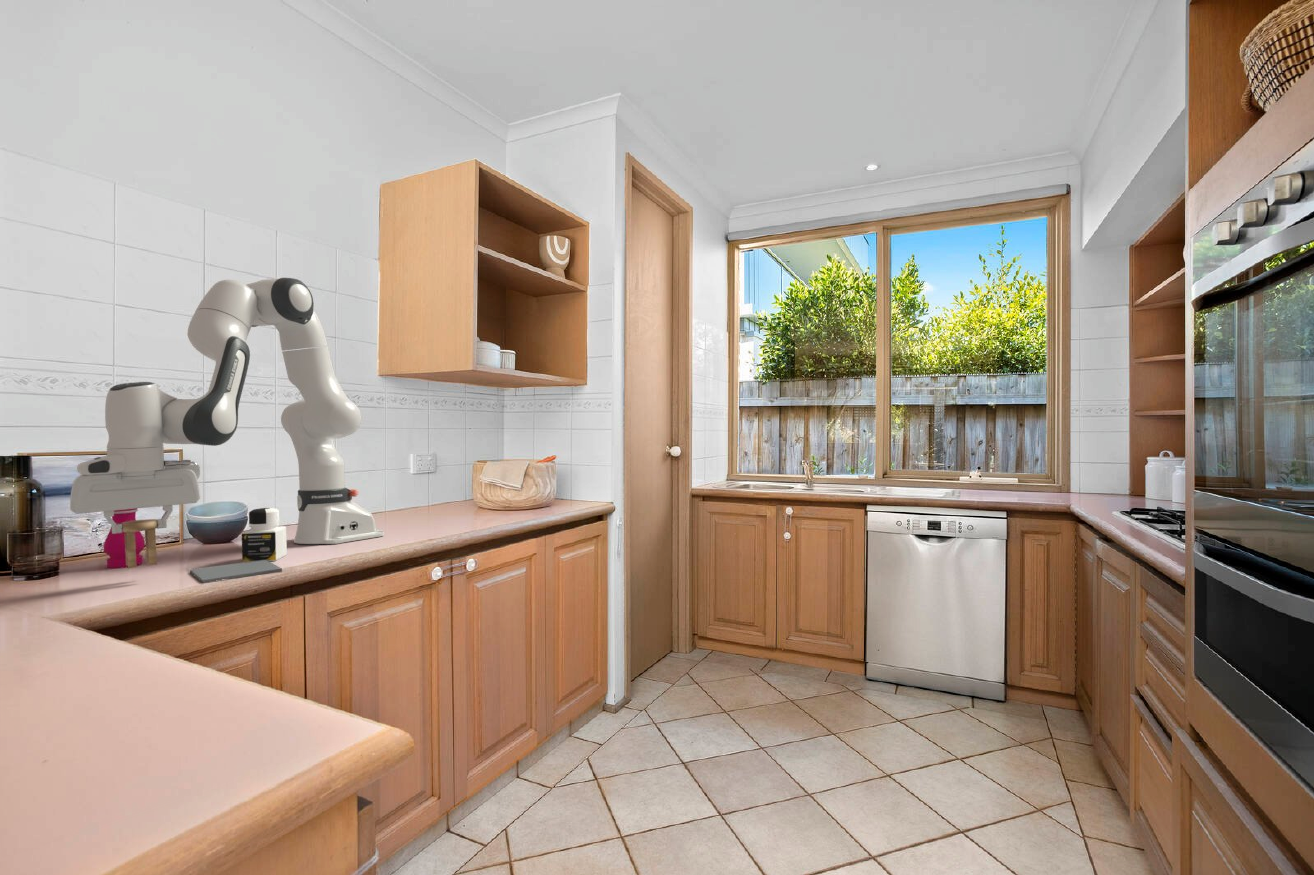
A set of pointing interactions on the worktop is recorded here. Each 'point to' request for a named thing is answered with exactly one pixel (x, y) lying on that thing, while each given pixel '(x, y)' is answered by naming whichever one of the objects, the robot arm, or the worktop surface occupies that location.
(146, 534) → the stool
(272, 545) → the medicine bottle
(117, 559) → the pepper mill
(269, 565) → the mat
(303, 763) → the worktop surface
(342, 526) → the robot arm
